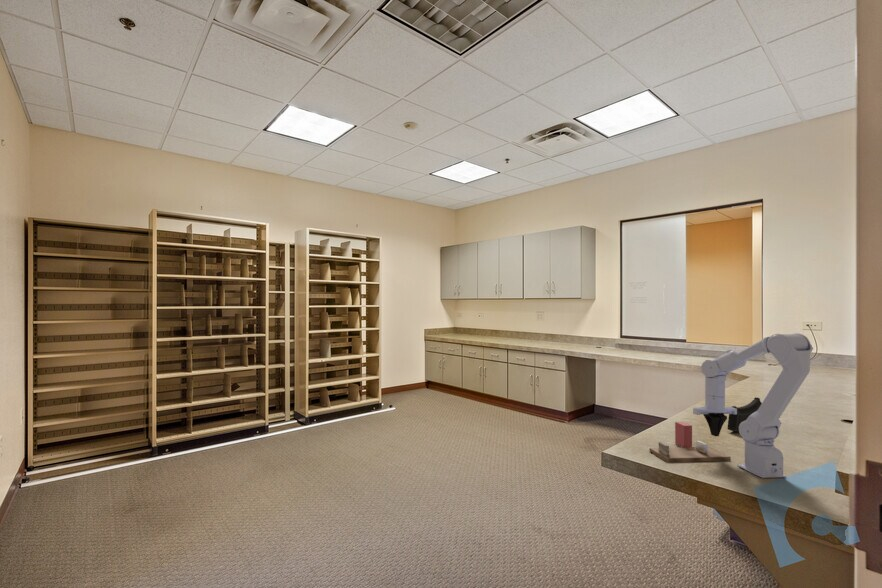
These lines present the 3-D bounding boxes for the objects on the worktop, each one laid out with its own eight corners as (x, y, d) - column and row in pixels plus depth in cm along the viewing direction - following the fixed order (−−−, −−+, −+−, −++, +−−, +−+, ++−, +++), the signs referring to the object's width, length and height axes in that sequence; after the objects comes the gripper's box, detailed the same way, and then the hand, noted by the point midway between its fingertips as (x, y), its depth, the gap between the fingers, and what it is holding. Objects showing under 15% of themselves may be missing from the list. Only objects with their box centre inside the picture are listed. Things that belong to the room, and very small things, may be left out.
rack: (708, 450, 152) (708, 438, 152) (730, 460, 142) (730, 447, 142) (649, 451, 149) (649, 439, 150) (667, 462, 140) (667, 449, 140)
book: (692, 448, 154) (692, 425, 154) (684, 448, 153) (684, 425, 154) (682, 443, 159) (682, 421, 159) (675, 443, 158) (675, 421, 158)
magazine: (733, 412, 169) (761, 383, 186) (724, 410, 172) (752, 382, 189) (739, 452, 172) (765, 419, 189) (730, 449, 175) (756, 417, 192)
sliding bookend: (699, 449, 148) (699, 440, 148) (707, 453, 144) (707, 444, 144) (696, 449, 148) (696, 440, 148) (704, 453, 144) (704, 444, 144)
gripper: (726, 392, 152) (726, 431, 151) (687, 393, 150) (687, 432, 150) (741, 397, 145) (741, 437, 144) (701, 397, 143) (701, 438, 143)
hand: (715, 435), depth 147 cm, fingers closed
